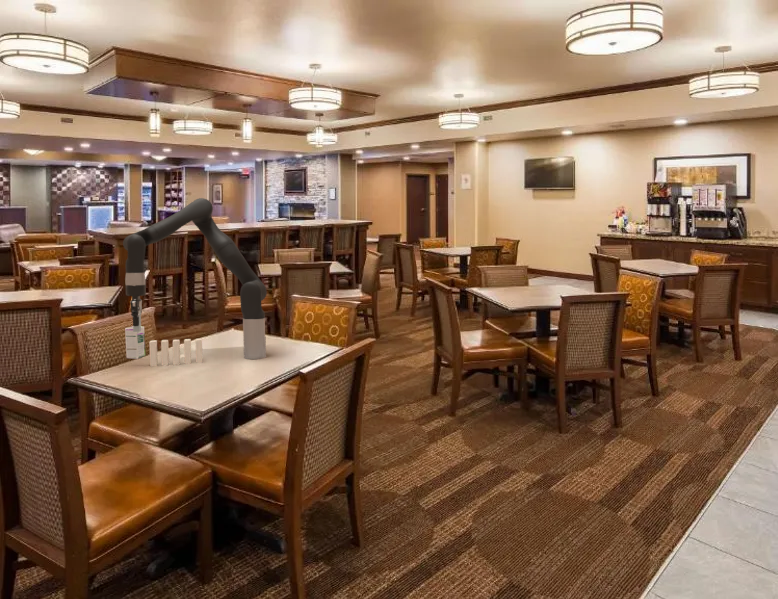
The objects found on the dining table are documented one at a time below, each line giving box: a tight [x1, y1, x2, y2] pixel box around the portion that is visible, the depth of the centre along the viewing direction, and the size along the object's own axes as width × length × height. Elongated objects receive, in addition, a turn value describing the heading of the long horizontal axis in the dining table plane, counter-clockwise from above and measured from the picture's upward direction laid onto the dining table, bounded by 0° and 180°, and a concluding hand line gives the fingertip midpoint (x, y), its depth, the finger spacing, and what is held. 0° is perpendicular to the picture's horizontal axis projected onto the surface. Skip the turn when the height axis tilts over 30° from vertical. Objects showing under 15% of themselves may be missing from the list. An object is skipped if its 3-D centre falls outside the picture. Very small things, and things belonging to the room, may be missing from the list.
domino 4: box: [172, 339, 181, 366], centre depth 249 cm, size 2×5×10 cm, turn 16°
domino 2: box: [148, 339, 158, 367], centre depth 246 cm, size 2×5×10 cm, turn 16°
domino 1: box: [132, 307, 142, 332], centre depth 244 cm, size 2×5×10 cm, turn 16°
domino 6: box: [194, 338, 203, 364], centre depth 251 cm, size 2×5×10 cm, turn 16°
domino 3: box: [160, 339, 170, 367], centre depth 247 cm, size 2×5×10 cm, turn 16°
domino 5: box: [183, 338, 192, 365], centre depth 250 cm, size 2×5×10 cm, turn 16°
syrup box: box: [124, 325, 147, 360], centre depth 259 cm, size 6×6×14 cm
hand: (137, 325), depth 244 cm, fingers closed on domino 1, 5 cm apart
